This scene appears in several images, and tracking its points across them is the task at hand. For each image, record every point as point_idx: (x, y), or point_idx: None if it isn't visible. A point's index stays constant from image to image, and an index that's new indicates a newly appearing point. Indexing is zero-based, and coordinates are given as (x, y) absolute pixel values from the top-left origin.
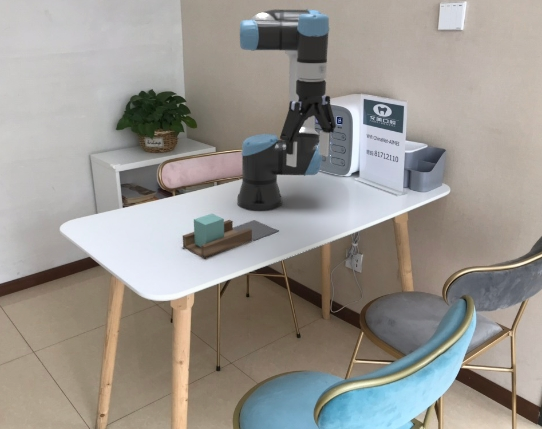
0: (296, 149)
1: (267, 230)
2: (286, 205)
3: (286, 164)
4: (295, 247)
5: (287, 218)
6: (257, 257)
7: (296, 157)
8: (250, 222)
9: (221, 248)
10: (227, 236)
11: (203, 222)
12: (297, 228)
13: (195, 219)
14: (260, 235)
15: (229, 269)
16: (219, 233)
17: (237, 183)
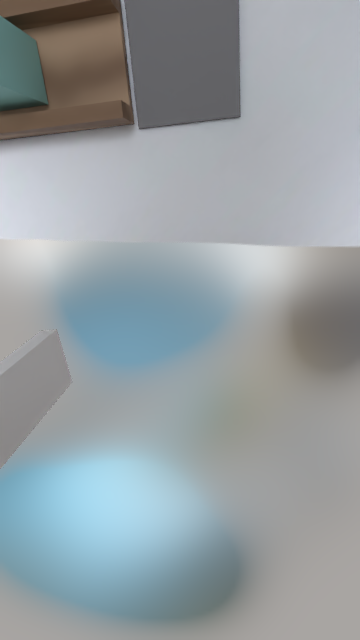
0: (8, 455)
1: (212, 91)
2: None
3: (40, 331)
4: (204, 233)
5: (353, 26)
6: (96, 216)
7: (44, 415)
8: None
9: (26, 134)
10: (39, 114)
11: None
12: (305, 132)
13: None
14: (170, 112)
15: (17, 223)
16: (11, 98)
17: None
